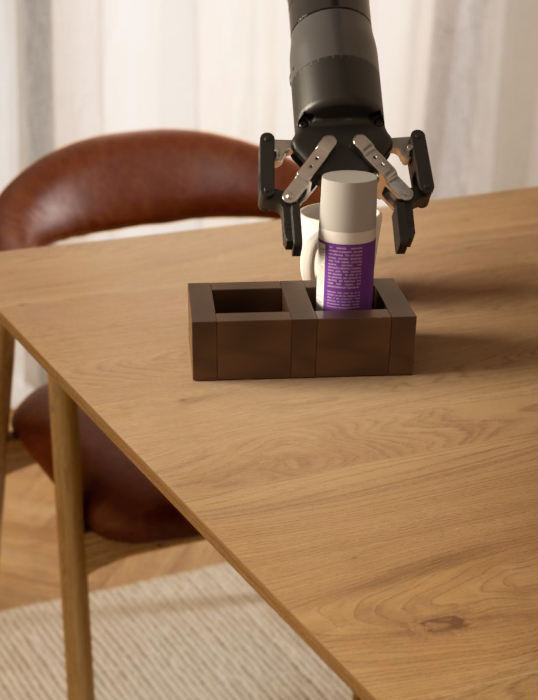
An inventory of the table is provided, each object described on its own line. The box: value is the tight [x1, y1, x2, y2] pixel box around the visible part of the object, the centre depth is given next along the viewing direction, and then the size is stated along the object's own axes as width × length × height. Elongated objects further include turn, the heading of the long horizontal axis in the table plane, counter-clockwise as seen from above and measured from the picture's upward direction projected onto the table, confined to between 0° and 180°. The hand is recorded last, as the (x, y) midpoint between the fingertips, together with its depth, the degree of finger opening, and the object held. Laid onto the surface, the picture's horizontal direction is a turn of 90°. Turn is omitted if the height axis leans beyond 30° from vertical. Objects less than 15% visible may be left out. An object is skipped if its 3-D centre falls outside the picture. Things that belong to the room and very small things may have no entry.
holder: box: [187, 277, 418, 381], centre depth 100 cm, size 18×10×5 cm, turn 93°
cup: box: [299, 202, 383, 281], centre depth 112 cm, size 11×8×8 cm
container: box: [316, 170, 378, 311], centre depth 98 cm, size 5×5×15 cm
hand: (350, 250), depth 95 cm, fingers open, 8 cm apart
